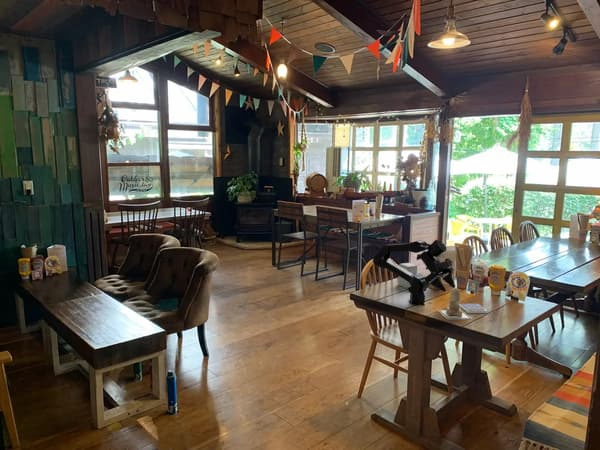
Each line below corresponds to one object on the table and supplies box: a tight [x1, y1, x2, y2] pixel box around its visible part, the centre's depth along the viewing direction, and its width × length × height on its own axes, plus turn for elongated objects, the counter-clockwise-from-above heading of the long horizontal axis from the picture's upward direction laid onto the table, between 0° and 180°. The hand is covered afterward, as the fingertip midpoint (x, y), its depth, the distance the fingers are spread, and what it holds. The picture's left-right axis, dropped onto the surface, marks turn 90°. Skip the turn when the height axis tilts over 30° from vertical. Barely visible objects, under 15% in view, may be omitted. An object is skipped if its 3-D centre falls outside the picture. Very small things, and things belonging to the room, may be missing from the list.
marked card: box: [437, 309, 473, 320], centre depth 208 cm, size 12×12×1 cm
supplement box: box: [397, 262, 418, 289], centre depth 251 cm, size 7×7×13 cm
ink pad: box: [459, 303, 488, 314], centre depth 216 cm, size 10×10×2 cm
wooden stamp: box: [445, 287, 463, 317], centre depth 207 cm, size 6×6×13 cm
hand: (450, 289), depth 209 cm, fingers open, 9 cm apart
